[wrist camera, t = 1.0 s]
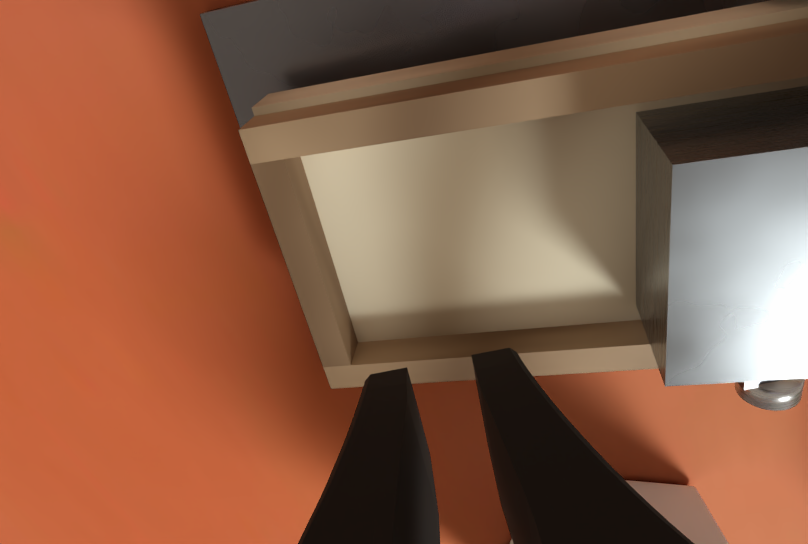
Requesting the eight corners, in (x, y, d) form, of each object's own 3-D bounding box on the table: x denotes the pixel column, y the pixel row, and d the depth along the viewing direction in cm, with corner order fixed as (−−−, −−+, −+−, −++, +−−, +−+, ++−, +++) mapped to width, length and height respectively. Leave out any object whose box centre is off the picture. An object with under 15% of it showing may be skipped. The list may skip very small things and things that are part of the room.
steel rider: (880, 73, 11) (994, 121, 9) (835, 287, 14) (913, 372, 11) (635, 112, 12) (672, 164, 10) (636, 304, 15) (664, 386, 12)
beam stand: (1293, -261, 13) (1793, -370, 8) (1079, 227, 19) (1299, 316, 15) (200, -1, 15) (122, 26, 10) (331, 372, 21) (320, 493, 16)
